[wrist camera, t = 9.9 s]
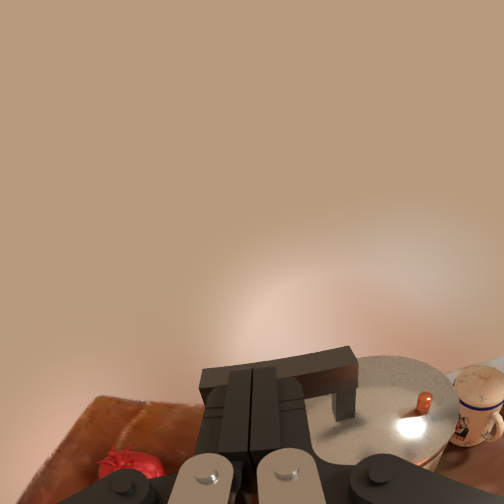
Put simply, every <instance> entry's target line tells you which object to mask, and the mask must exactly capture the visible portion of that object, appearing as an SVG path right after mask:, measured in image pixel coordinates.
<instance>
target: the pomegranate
mask: <svg viewBox="0 0 504 504" xmlns="http://www.w3.org/2000/svg"><path fill="white" fill-rule="evenodd" d="M134 445H135V444H134ZM134 445H132V446H134ZM112 446H113V445H112ZM132 446H130V447H129V448H127V449H124V450H123V449H121V450H118V451H116V452H115V450H114V446H113V447H112V451H109V452H108V455H109V456H108V457H106V458H104V459H103V460H102V461H100V462H97V463H99V464H100V466H99V470H98V477H99V480H100V479H102V478H104V477H105V476H107V475H109V474H110V473H112V472H114V471H116V470H119V469H124V468H131V469H136V470H138V471H140V472H142V473H143V474H144V475H145V476H146V477H147V478H148V479H149V478H155V477H161V476H166V473H165V471H164V469H163V466H162V463H161V461H160V460H159V458H158V457H156V456H153V455H149V454H146V453H144V452H136V451H134V450H130V448H131V447H132Z"/></svg>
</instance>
